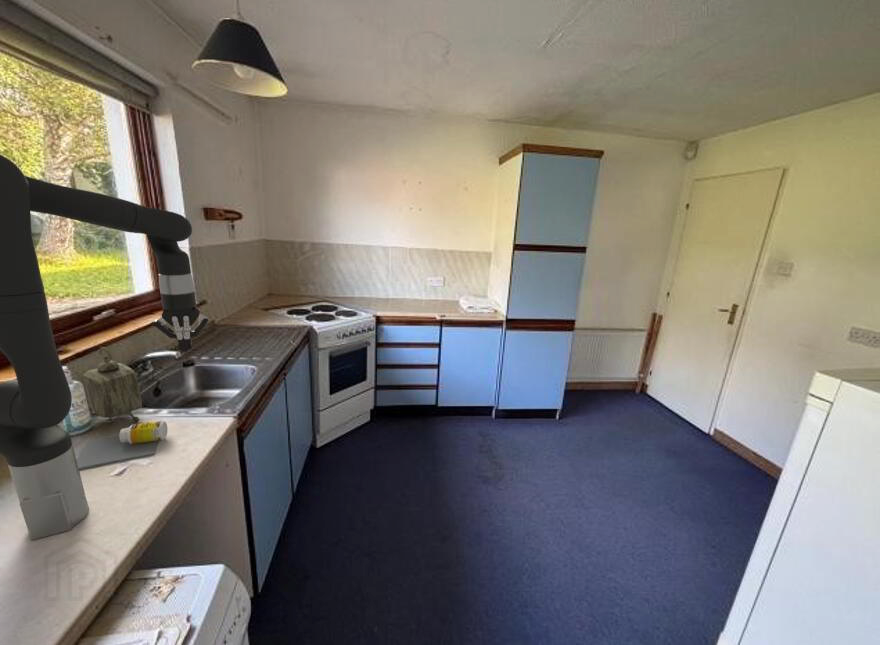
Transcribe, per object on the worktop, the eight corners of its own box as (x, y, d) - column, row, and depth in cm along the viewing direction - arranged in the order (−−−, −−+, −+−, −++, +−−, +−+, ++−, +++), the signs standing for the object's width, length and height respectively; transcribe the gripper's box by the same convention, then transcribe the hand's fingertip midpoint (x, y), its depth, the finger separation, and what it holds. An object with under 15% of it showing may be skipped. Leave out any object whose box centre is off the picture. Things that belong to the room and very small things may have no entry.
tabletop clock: (145, 421, 118) (131, 348, 111) (110, 434, 110) (93, 357, 103) (124, 408, 125) (110, 339, 118) (90, 419, 117) (72, 346, 110)
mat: (154, 454, 102) (153, 453, 102) (70, 471, 94) (69, 469, 94) (163, 429, 114) (163, 427, 114) (89, 441, 106) (89, 440, 106)
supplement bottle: (161, 422, 106) (117, 428, 102) (162, 441, 106) (118, 448, 102) (167, 418, 111) (125, 423, 107) (168, 436, 111) (126, 442, 107)
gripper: (143, 294, 91) (154, 358, 96) (205, 292, 97) (213, 352, 102) (149, 288, 97) (159, 349, 102) (207, 286, 103) (214, 344, 108)
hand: (186, 350), depth 102 cm, fingers closed
